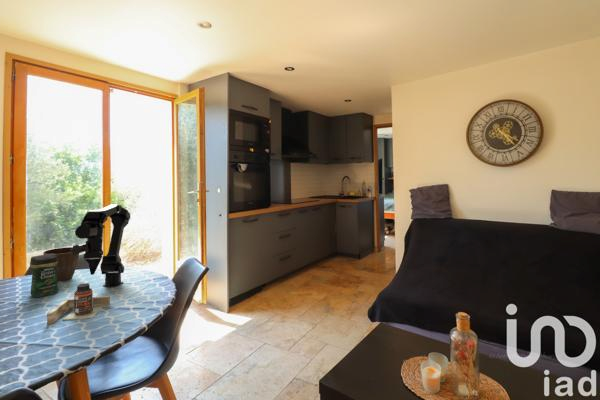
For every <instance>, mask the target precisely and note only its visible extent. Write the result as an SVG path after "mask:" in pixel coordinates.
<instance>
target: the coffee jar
mask: <svg viewBox="0 0 600 400" xmlns="http://www.w3.org/2000/svg"><path fill="white" fill-rule="evenodd" d="M57 263H58V260H57V256H56V255H55V254H46V255H44V254H41V255H35V256H33V255H32V256H31V257H30V262H29V266H30V267H29V268H30V269H31V277H32V278H31V285H30V296H31V297H32V298H40V297H41V298H42V297H46V296H50V295H53V294H56V293H58V292H59V282H57V275H56V266H57Z"/></svg>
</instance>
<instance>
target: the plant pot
mask: <svg viewBox="0 0 600 400" xmlns="http://www.w3.org/2000/svg"><path fill="white" fill-rule="evenodd" d="M72 248H73V246H72V247H71V246H69V247H58V248H53V249H52V248H51V249H47V250H45V251H43V254H42V255H46V254H55V255H56V256H57V260H58V263H57V266H56V275H57V282H58V283H64V282H68V281H70V280H72V279H73V276H74V274H75V271H76V269H77V265H78V261H79V257H80V253H78V254H76V255H74V256H73V255H72V253H71V250H70V249H72Z"/></svg>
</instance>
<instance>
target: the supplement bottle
mask: <svg viewBox="0 0 600 400" xmlns="http://www.w3.org/2000/svg"><path fill="white" fill-rule="evenodd" d="M73 293H74V295H73V298H74V309H73V310H74V312H75V314H76V315H84V314H87V313H90V312H91V311H92V310H93V297H94V296H93V295H94V294H93V288H90V283H89V282H88V283H87V282H85V283H80V284H78V285H77V286H76V290H75V291H74V292H73Z"/></svg>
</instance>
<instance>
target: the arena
mask: <svg viewBox="0 0 600 400" xmlns="http://www.w3.org/2000/svg"><path fill="white" fill-rule="evenodd" d="M110 305H111V295H102V296H101V295H100V296H98V295H97V296H93V310H92V311H91V312H90V313H87V314H84V315H76V314H75V312H74V297H73V298H65V299H64V300H62V302H60V303H59V304H58V305H56V306H55V307H53V308H52V309H51V310H50V311H49V312H47V313H46V325H52V324H54V323H55V322H56V321H58V319H60V318H61V317H62V316H63V315H65V313H67V312H68V311H70V310H72V311H71V312H70V313H69V314H68V315H66V316H65V317H64V318H63V319H62V321H63V322H64V321H75V320H85V319H93V318H95V316H96V315H97V314H98V313H99V312H100V311H101V310H102V309H103V307H104V308H105V307H110Z"/></svg>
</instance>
